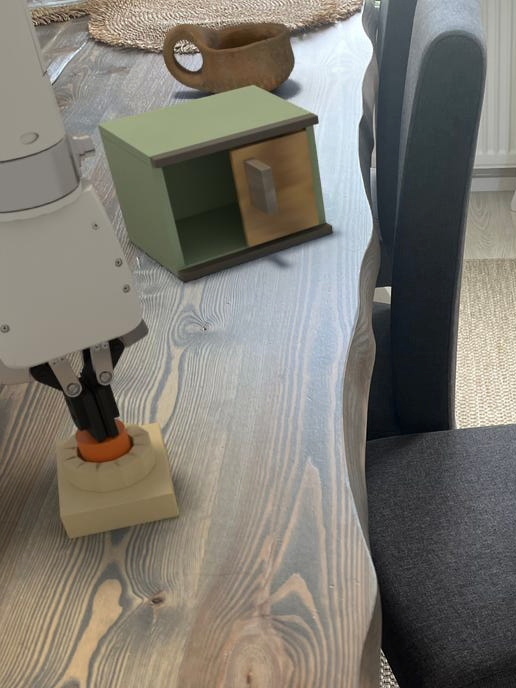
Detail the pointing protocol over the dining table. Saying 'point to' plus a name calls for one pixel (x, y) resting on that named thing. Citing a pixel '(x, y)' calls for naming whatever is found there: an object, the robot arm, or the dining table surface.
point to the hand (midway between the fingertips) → (100, 430)
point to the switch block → (116, 485)
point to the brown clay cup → (233, 56)
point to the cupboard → (200, 177)
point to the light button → (103, 445)
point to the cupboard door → (274, 187)
